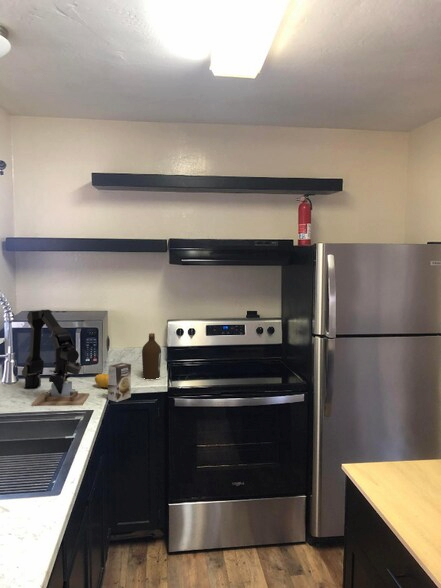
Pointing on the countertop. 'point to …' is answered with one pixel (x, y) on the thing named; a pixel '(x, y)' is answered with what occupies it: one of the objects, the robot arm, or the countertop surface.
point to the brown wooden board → (61, 399)
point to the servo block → (66, 389)
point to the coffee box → (119, 382)
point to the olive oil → (151, 358)
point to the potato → (102, 380)
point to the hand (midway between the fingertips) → (61, 392)
